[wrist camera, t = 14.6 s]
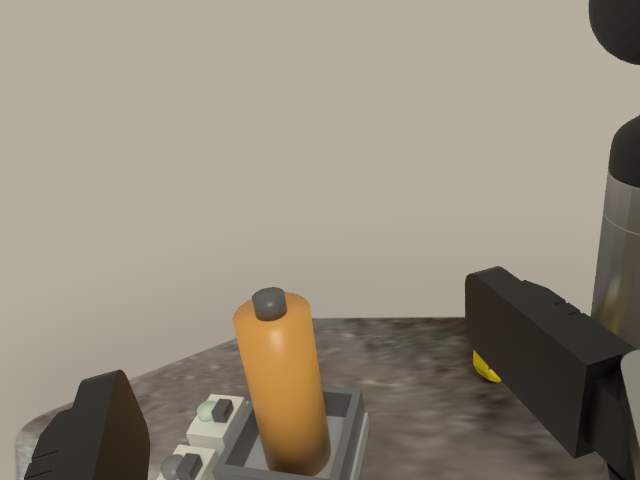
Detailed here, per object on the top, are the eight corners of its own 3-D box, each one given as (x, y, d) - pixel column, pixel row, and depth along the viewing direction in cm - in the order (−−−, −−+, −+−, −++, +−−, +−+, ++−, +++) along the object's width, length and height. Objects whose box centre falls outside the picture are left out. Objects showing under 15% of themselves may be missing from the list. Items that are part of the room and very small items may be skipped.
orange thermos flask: (337, 429, 35) (315, 276, 29) (322, 485, 30) (294, 319, 25) (277, 423, 36) (246, 276, 31) (255, 476, 32) (215, 316, 26)
